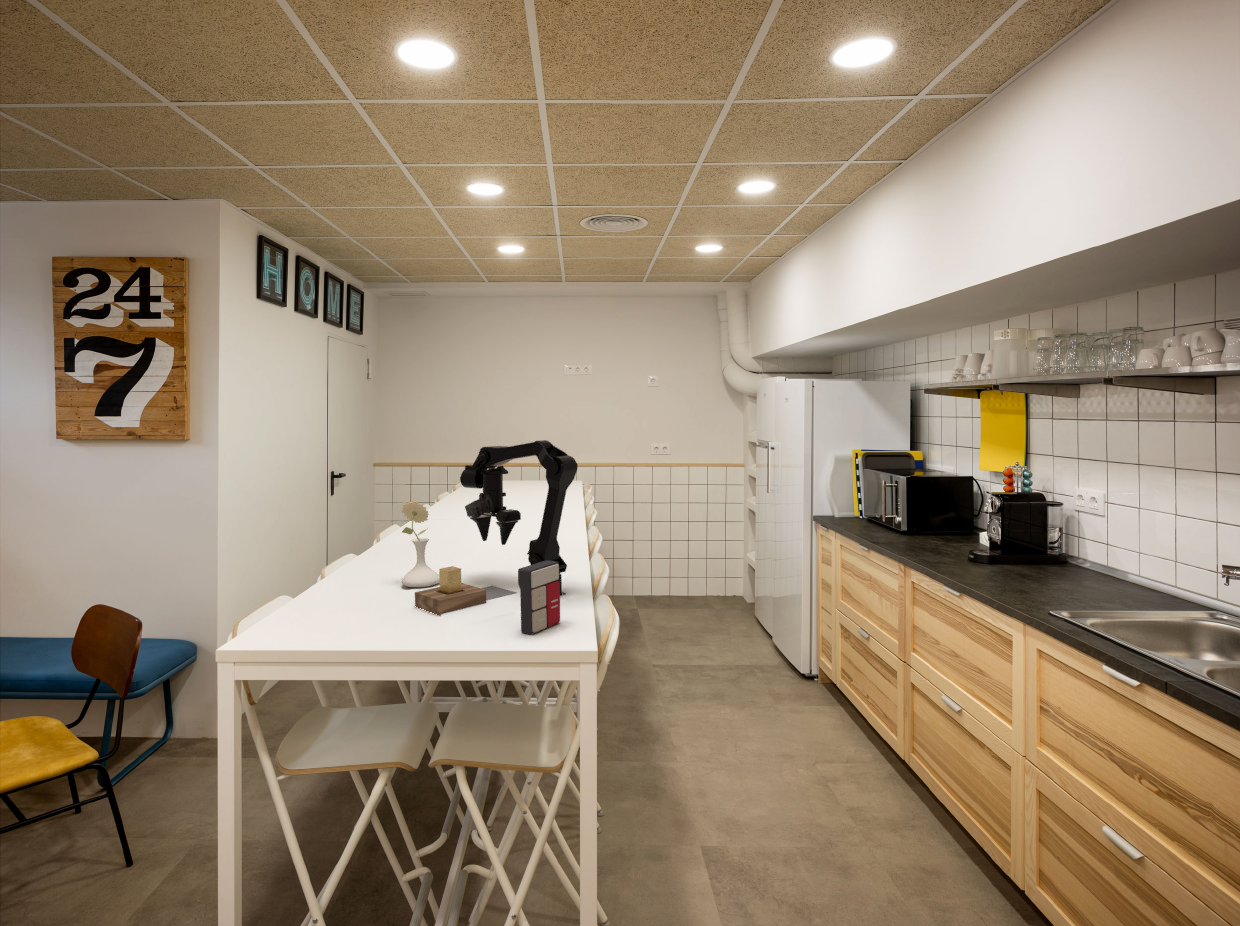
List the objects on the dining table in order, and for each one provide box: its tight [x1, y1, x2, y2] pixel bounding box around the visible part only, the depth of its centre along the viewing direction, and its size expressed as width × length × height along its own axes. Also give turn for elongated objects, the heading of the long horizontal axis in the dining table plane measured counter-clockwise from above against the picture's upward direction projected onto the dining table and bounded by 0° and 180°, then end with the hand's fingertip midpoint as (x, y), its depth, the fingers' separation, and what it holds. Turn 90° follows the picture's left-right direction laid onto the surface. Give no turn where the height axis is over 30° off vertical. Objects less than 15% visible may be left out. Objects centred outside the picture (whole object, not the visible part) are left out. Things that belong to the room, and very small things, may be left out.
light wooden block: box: [438, 565, 462, 595], centre depth 181 cm, size 4×4×10 cm
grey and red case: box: [517, 560, 561, 635], centre depth 161 cm, size 11×4×15 cm, turn 148°
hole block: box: [414, 582, 487, 616], centre depth 181 cm, size 12×14×4 cm
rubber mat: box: [481, 585, 518, 602], centre depth 192 cm, size 12×12×1 cm
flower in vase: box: [400, 501, 440, 588], centre depth 202 cm, size 13×11×25 cm
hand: (493, 542), depth 200 cm, fingers open, 9 cm apart
